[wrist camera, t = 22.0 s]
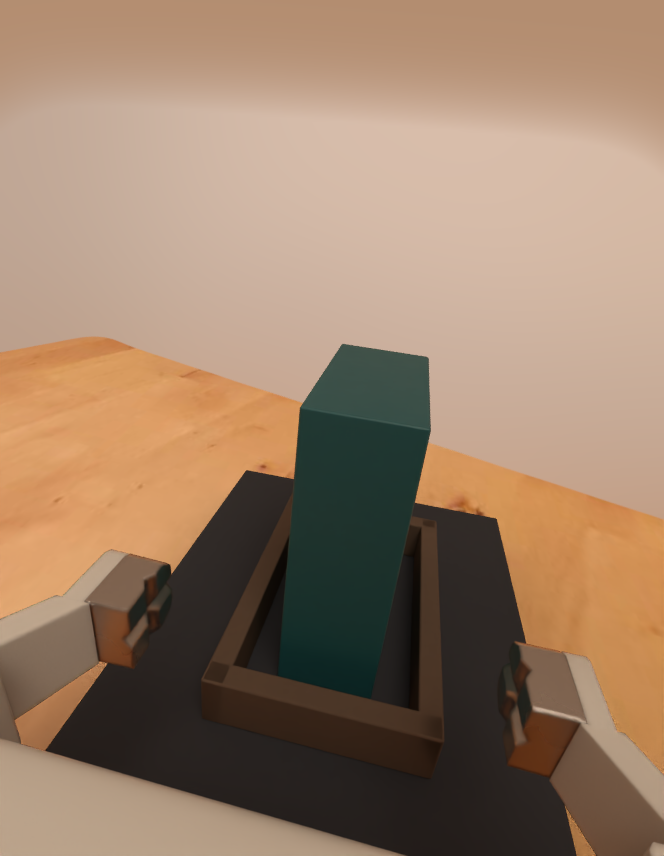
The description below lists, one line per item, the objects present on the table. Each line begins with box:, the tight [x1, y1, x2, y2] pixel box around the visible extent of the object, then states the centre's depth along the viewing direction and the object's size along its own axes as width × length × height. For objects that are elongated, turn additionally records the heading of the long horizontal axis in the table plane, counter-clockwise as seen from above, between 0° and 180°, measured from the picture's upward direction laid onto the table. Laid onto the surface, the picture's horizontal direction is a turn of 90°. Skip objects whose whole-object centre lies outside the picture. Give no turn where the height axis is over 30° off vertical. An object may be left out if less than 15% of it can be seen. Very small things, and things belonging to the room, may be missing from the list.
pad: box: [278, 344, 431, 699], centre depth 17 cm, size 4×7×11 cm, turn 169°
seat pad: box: [45, 470, 577, 856], centre depth 20 cm, size 16×20×4 cm
